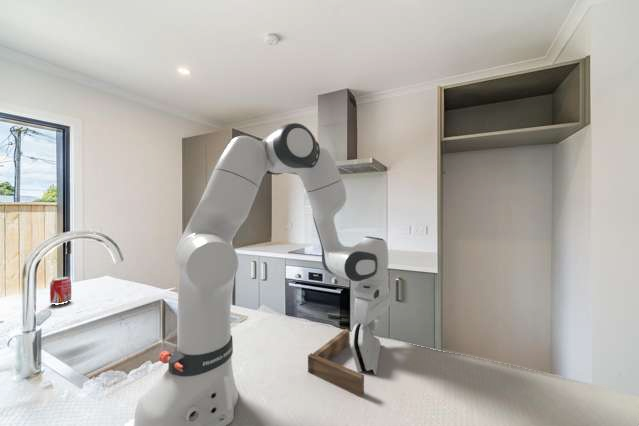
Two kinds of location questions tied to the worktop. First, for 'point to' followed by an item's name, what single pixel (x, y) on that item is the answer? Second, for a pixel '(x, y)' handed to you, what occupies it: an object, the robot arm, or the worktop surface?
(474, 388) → the worktop surface
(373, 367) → the white black-banded slab
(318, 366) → the wooden corner bracket
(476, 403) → the worktop surface
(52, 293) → the soda can
